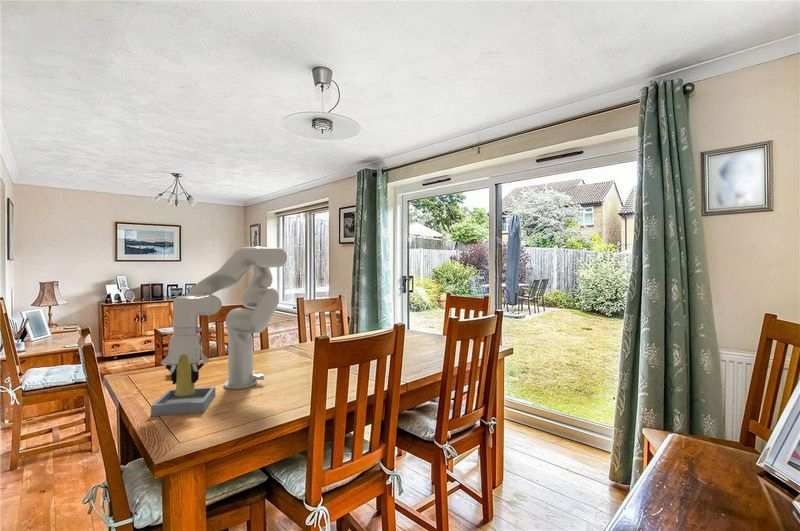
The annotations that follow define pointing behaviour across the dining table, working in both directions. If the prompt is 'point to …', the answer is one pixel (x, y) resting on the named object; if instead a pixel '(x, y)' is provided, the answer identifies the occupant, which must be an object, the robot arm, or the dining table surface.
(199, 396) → the tray
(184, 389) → the vase
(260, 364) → the dining table surface
